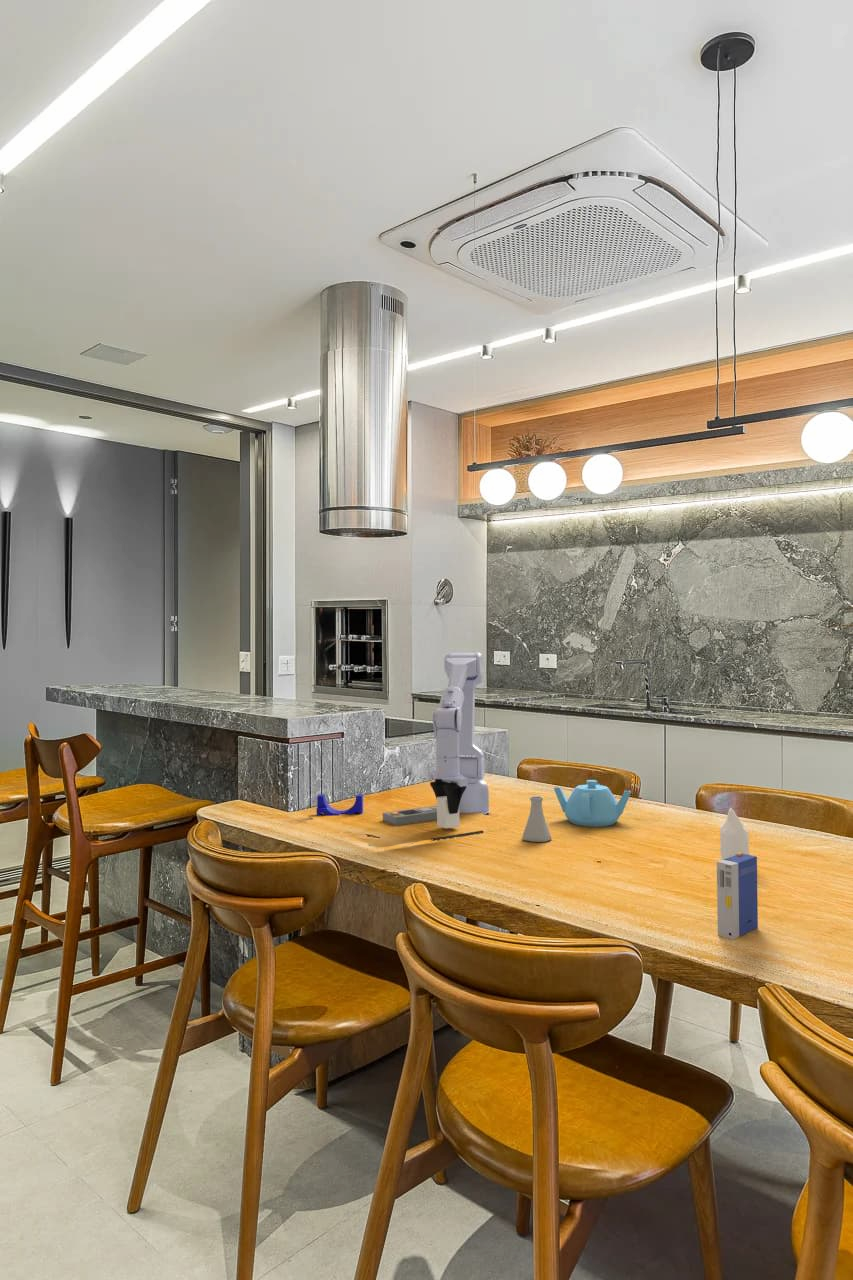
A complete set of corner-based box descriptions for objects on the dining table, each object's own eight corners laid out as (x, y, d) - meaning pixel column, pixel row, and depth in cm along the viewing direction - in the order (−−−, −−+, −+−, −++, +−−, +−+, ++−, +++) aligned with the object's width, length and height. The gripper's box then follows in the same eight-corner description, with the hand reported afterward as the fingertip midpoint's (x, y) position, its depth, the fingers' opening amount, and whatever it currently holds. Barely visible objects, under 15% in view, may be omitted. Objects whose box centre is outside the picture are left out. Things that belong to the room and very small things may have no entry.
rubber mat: (461, 825, 209) (461, 823, 209) (483, 833, 200) (483, 831, 200) (413, 832, 202) (413, 830, 202) (435, 840, 193) (434, 838, 193)
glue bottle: (753, 811, 165) (725, 811, 165) (754, 870, 165) (726, 870, 165) (742, 805, 171) (715, 805, 171) (743, 862, 171) (716, 862, 171)
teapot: (550, 818, 216) (550, 778, 216) (598, 813, 222) (597, 773, 222) (584, 830, 202) (583, 787, 202) (633, 824, 208) (633, 782, 208)
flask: (555, 837, 195) (555, 795, 195) (547, 844, 189) (546, 801, 189) (526, 834, 198) (526, 793, 199) (517, 841, 192) (516, 798, 192)
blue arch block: (316, 819, 219) (316, 797, 219) (319, 816, 223) (319, 794, 223) (361, 819, 218) (360, 797, 218) (363, 816, 223) (363, 794, 223)
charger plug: (450, 823, 204) (450, 795, 204) (459, 826, 200) (459, 797, 200) (437, 825, 202) (436, 797, 202) (445, 828, 198) (445, 799, 198)
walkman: (742, 923, 135) (741, 851, 135) (758, 928, 132) (757, 854, 132) (716, 935, 129) (715, 859, 130) (732, 940, 127) (731, 863, 127)
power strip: (441, 816, 221) (441, 803, 221) (455, 820, 215) (455, 807, 215) (382, 824, 211) (382, 811, 211) (395, 829, 205) (395, 815, 205)
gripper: (418, 754, 205) (419, 808, 205) (449, 761, 193) (450, 818, 193) (442, 752, 209) (443, 805, 209) (474, 758, 196) (475, 815, 196)
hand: (448, 811), depth 201 cm, fingers closed on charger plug, 4 cm apart
